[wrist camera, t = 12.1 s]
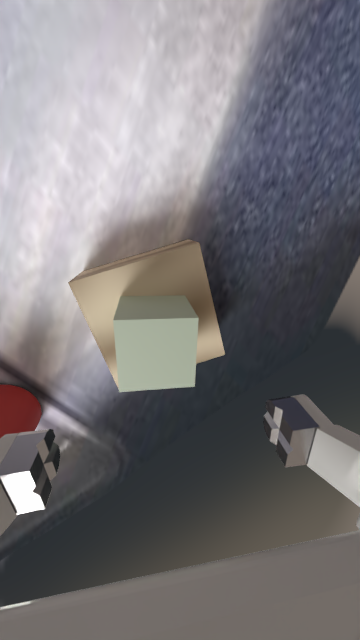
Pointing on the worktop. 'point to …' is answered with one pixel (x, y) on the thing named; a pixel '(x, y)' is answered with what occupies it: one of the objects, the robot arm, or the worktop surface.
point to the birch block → (148, 294)
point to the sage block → (155, 342)
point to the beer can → (18, 410)
